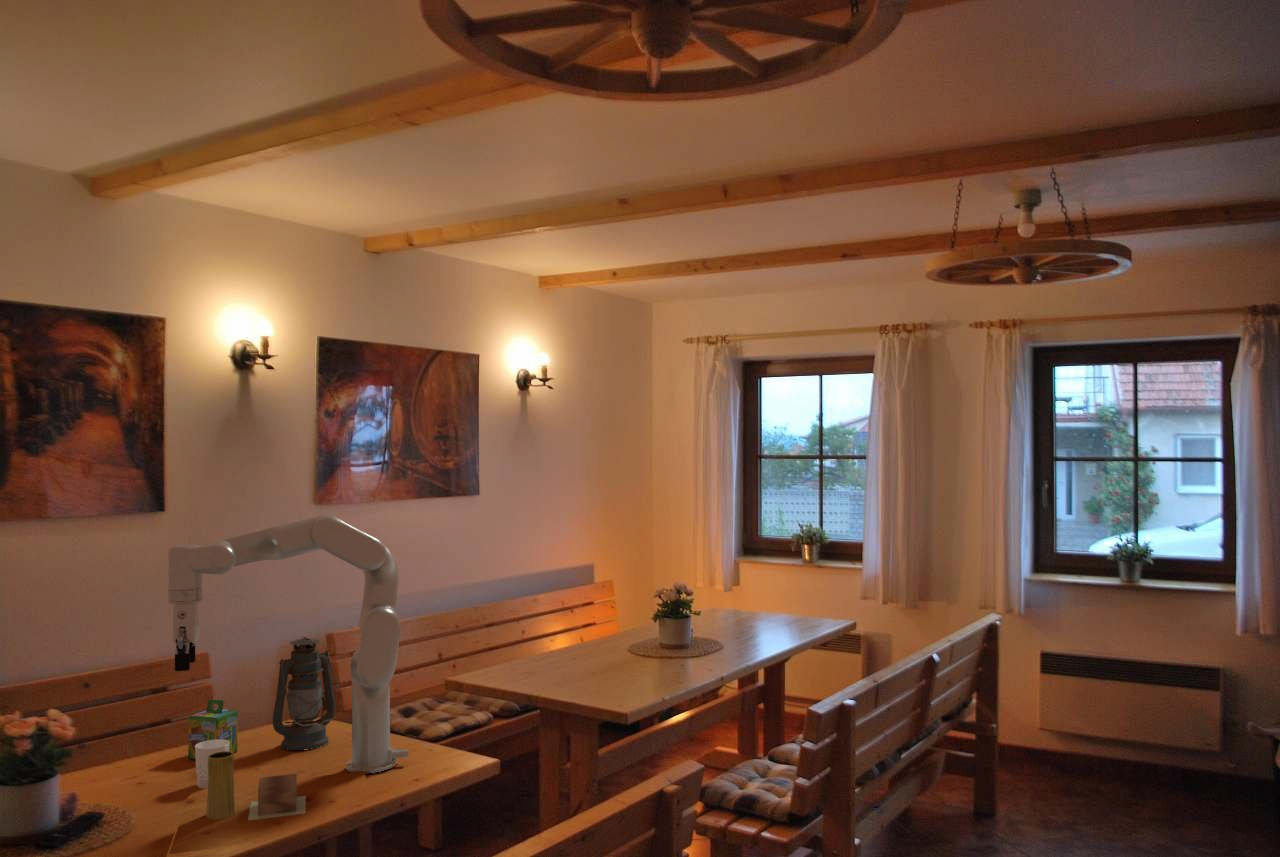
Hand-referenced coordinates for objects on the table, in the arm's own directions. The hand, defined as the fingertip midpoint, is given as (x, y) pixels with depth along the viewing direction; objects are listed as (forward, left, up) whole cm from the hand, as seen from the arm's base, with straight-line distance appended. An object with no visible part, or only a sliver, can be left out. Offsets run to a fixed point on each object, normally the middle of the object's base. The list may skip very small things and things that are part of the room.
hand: (185, 666), depth 239 cm
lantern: (-28, -30, -30) cm, 51 cm away
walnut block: (-22, +23, -29) cm, 43 cm away
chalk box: (-4, -29, -30) cm, 42 cm away
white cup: (-6, -3, -30) cm, 31 cm away
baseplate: (-22, +23, -30) cm, 44 cm away
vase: (-10, +23, -30) cm, 39 cm away
